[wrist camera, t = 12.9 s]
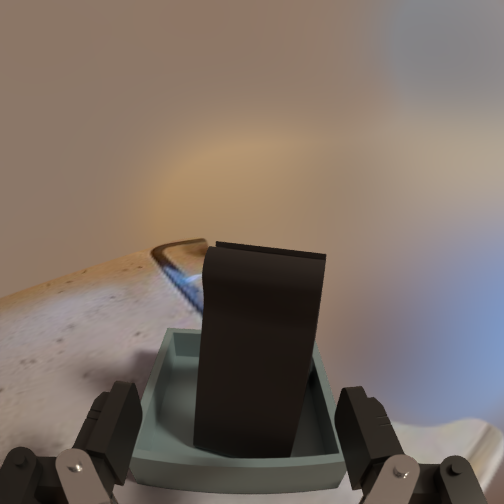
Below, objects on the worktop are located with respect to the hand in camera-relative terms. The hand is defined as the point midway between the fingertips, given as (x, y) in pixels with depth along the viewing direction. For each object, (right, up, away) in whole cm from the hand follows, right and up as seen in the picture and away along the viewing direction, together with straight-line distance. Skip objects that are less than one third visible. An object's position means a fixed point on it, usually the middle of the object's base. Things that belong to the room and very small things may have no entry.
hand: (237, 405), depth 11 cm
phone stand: (+1, -6, +9) cm, 11 cm away
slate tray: (0, -6, +10) cm, 11 cm away
